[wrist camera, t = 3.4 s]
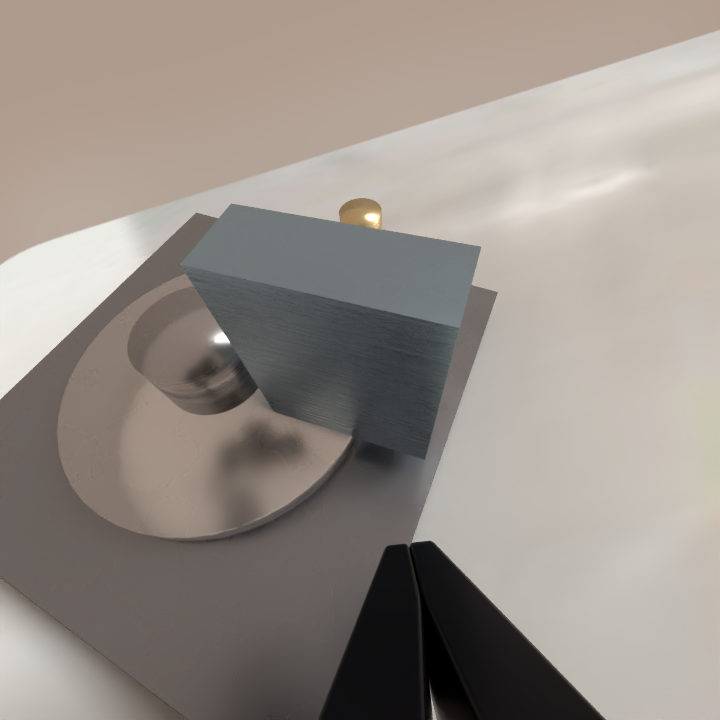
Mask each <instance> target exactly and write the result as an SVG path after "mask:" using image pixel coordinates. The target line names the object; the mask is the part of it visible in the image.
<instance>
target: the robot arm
mask: <svg viewBox="0 0 720 720" xmlns="http://www.w3.org/2000/svg"><path fill="white" fill-rule="evenodd" d="M430 691H431V695H430ZM431 696H432V701H433V705H434V709H435V713H436V718H437V720H606V719H605V718H604V717H603V716H602V715H601V714H600V713H599V712H598V711H597V710H596V709H595V708H594V707H593V706H592V705H591V704H590V703H589V702H588V701H587V700H586V699H585V698H584V697H583V696H582V695H581V694H580V692H579V691H578V690H577V689H576V688H575V687H574V686H573V685H572V684H571V683H570V682H569V681H568V680H567V679H566V678H565V677H564V676H563V675H562V674H561V673H560V672H559V671H558V670H557V669H556V668H555V667H554V666H553V665H552V664H551V663H550V662H549V661H548V660H547V658H546V657H545V656H544V655H543V654H542V653H541V652H540V651H539V650H538V649H537V648H536V647H535V646H534V645H533V644H532V643H531V642H530V641H529V640H528V639H527V638H526V637H525V636H524V635H523V634H522V633H521V632H520V631H519V630H518V629H517V628H516V627H515V626H514V624H513V623H512V622H511V621H510V620H509V619H508V618H507V617H506V616H505V615H504V614H503V613H502V612H501V611H500V610H499V609H498V608H497V607H496V606H495V605H494V604H493V603H492V602H491V601H490V600H489V599H488V598H487V597H486V596H485V595H484V594H483V593H482V592H481V591H480V589H479V588H478V587H477V586H476V585H475V584H474V583H473V582H472V581H471V580H470V579H469V578H468V577H467V576H466V575H465V574H464V573H463V572H462V571H461V570H460V569H459V568H458V567H457V566H456V565H455V564H454V563H453V562H452V561H451V560H450V559H449V558H448V557H447V555H446V554H445V553H444V552H443V551H442V550H441V549H440V548H439V547H438V546H437V545H436V544H435V543H434V542H432V541H424V542H415V543H411V544H410V548H409V546H408V545H407V544H396V545H388V546H386V547H385V549H384V552H383V554H382V557H381V559H380V562H379V564H378V567H377V569H376V572H375V574H374V577H373V580H372V582H371V585H370V587H369V590H368V592H367V595H366V597H365V600H364V602H363V605H362V608H361V610H360V613H359V615H358V618H357V620H356V623H355V625H354V628H353V630H352V633H351V636H350V638H349V641H348V643H347V646H346V648H345V651H344V653H343V656H342V658H341V661H340V664H339V666H338V669H337V671H336V674H335V676H334V679H333V681H332V684H331V686H330V689H329V692H328V694H327V697H326V699H325V702H324V704H323V707H322V709H321V712H320V714H319V717H318V720H433V717H432V706H431Z"/></svg>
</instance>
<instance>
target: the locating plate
mask: <svg viewBox="0 0 720 720" xmlns="http://www.w3.org/2000/svg"><path fill="white" fill-rule="evenodd" d="M339 215H340V223H346V224H352V225H358V226H364V227H369V228H375V229H381V230H382V213H381V207H380V205H379V204H378V203H377V202H375V201H374V200H371V199H365V198H359V199H354V200H351V201H348V202H346V203H345V204H344V205H343V206H342V207H341V208H340V211H339ZM217 220H218V218H214V217H210V216H207V215H203V214H199V213H196V214H195V215H193V216H192V217H191V218H190V219H189V220H188V221H187V222H186V223H185V224H184V225H183V226H182V227H181V228H180V229H179V230H178V231H177V232H176V233H175V234H174V235H173V236H171V237H170V238H169V239H168V240H167V241H166V242H165V243H164V244H163V245H162V246H161V247H160V248H159V249H158V250H157V251H156V252H155V253H154V254H153V255H152V256H150V257H149V258H148V259H147V260H146V261H145V262H144V263H143V264H142V265H141V266H140V267H139V268H138V269H137V270H136V271H135V272H134V273H133V274H132V275H131V276H130V277H128V278H127V279H126V280H125V281H124V282H123V283H122V284H121V285H120V286H119V287H118V288H117V289H116V290H115V291H114V292H113V293H112V294H111V295H110V296H109V297H107V298H106V299H105V300H104V301H103V302H102V303H101V304H100V305H99V306H98V307H97V308H96V309H95V310H94V311H93V312H92V313H91V314H90V315H89V316H88V317H87V318H85V319H84V320H83V321H82V322H81V323H80V324H79V325H78V326H77V327H76V328H75V329H74V330H73V331H72V332H71V333H70V334H69V335H68V336H67V337H66V338H64V339H63V340H62V341H61V342H60V343H59V344H58V345H57V346H56V347H55V348H54V349H53V350H52V351H51V352H50V353H49V354H48V355H47V356H46V357H45V358H44V359H42V360H41V361H40V362H39V363H38V364H37V365H36V366H35V367H34V368H33V369H32V370H31V371H30V372H29V373H28V374H27V375H26V376H25V377H24V378H23V379H22V380H20V381H19V382H18V383H17V384H16V385H15V386H14V387H13V388H12V389H11V390H10V391H9V392H8V393H7V394H6V395H5V396H4V397H3V398H2V399H1V400H0V577H1V578H2V579H4V580H5V581H6V582H8V583H9V584H10V585H11V586H13V587H14V588H15V589H17V590H18V591H19V592H21V593H22V594H23V595H25V596H26V597H27V598H29V599H30V600H31V601H32V602H34V603H35V604H36V605H38V606H39V607H40V608H42V609H43V610H44V611H46V612H47V613H48V614H50V615H51V616H52V617H54V618H55V619H56V620H57V621H59V622H60V623H61V624H63V625H64V626H65V627H67V628H68V629H69V630H71V631H72V632H73V633H75V634H76V635H77V636H79V637H80V638H81V639H82V640H84V641H85V642H86V643H88V644H89V645H90V646H92V647H93V648H94V649H96V650H97V651H98V652H100V653H101V654H102V655H103V656H105V657H106V658H107V659H109V660H110V661H111V662H113V663H114V664H115V665H117V666H118V667H119V668H121V669H122V670H123V671H125V672H126V673H127V674H128V675H130V676H131V677H132V678H134V679H135V680H136V681H138V682H139V683H140V684H142V685H143V686H144V687H146V688H147V689H148V690H149V691H151V692H152V693H153V694H155V695H156V696H157V697H159V698H160V699H161V700H163V701H164V702H165V703H167V704H168V705H169V706H171V707H172V708H173V709H174V710H176V711H177V712H178V713H180V714H181V715H182V716H184V717H185V718H186V719H188V720H318V717H319V714H320V712H321V709H322V707H323V704H324V702H325V699H326V697H327V694H328V692H329V689H330V686H331V684H332V681H333V679H334V676H335V674H336V671H337V669H338V666H339V664H340V661H341V658H342V656H343V653H344V651H345V648H346V646H347V643H348V641H349V638H350V636H351V633H352V630H353V628H354V625H355V623H356V620H357V618H358V615H359V613H360V610H361V608H362V605H363V602H364V600H365V597H366V595H367V592H368V590H369V587H370V585H371V582H372V580H373V577H374V574H375V572H376V569H377V567H378V564H379V562H380V559H381V557H382V554H383V552H384V549H385V547H386V546H388V545H396V544H407V545H408V546H409V547H410V544H411V542H412V539H413V536H414V533H415V530H416V527H417V524H418V521H419V518H420V516H421V513H422V510H423V507H424V504H425V501H426V498H427V495H428V492H429V490H430V487H431V484H432V481H433V478H434V475H435V472H436V469H437V466H438V464H439V461H440V458H441V455H442V452H443V449H444V446H445V443H446V440H447V437H448V435H449V432H450V429H451V426H452V423H453V420H454V417H455V414H456V411H457V409H458V406H459V403H460V400H461V397H462V394H463V391H464V388H465V385H466V383H467V380H468V377H469V374H470V371H471V368H472V365H473V362H474V359H475V357H476V354H477V351H478V348H479V345H480V342H481V339H482V336H483V333H484V330H485V328H486V325H487V322H488V319H489V316H490V313H491V310H492V307H493V304H494V302H495V299H496V296H497V293H498V292H495V291H491V290H487V289H484V288H480V287H476V286H472V285H471V287H470V291H469V295H468V299H467V302H466V306H465V310H464V314H463V318H462V321H461V325H460V329H459V333H458V337H457V340H456V344H455V348H454V352H453V355H452V359H451V363H450V367H449V371H448V374H447V378H446V382H445V386H444V390H443V393H442V397H441V401H440V405H439V409H438V412H437V416H436V420H435V424H434V427H433V431H432V435H431V439H430V443H429V446H428V450H427V454H426V458H425V460H423V459H420V458H417V457H414V456H411V455H408V454H404V453H401V452H398V451H395V450H392V449H389V448H386V447H383V446H379V445H376V444H373V443H370V442H367V441H364V440H361V439H356V441H355V443H354V444H353V446H352V448H351V449H350V451H349V453H348V454H347V456H346V457H345V459H344V460H343V462H342V463H341V464H340V465H339V467H338V468H337V469H336V470H335V472H334V473H333V474H332V475H331V476H330V478H329V479H328V480H327V481H325V482H324V483H323V484H322V485H321V486H320V487H319V488H318V489H317V490H316V491H315V492H314V493H313V494H312V495H311V496H309V497H308V498H307V499H305V500H304V501H303V502H301V503H300V504H299V505H297V506H296V507H295V508H293V509H292V510H290V511H288V512H287V513H285V514H283V515H281V516H280V517H278V518H276V519H275V520H273V521H271V522H269V523H266V524H264V525H261V526H259V527H257V528H254V529H252V530H250V531H247V532H243V533H240V534H236V535H232V536H229V537H225V538H219V539H211V540H204V541H176V540H170V539H164V538H158V537H153V536H149V535H145V534H141V533H137V532H134V531H131V530H128V529H125V528H123V527H120V526H117V525H115V524H113V523H112V522H110V521H108V520H106V519H105V518H103V517H101V516H99V515H98V514H97V513H96V512H94V511H93V510H92V509H91V508H90V507H89V506H88V505H86V504H85V503H84V502H83V501H82V499H81V498H80V497H79V495H78V494H77V493H76V492H75V490H74V489H73V488H72V486H71V484H70V482H69V480H68V478H67V476H66V474H65V472H64V470H63V466H62V462H61V459H60V455H59V449H58V437H57V430H58V416H59V411H60V407H61V402H62V398H63V395H64V392H65V390H66V387H67V384H68V381H69V379H70V377H71V375H72V373H73V371H74V369H75V367H76V365H77V363H78V362H79V360H80V359H81V357H82V356H83V354H84V352H85V351H86V349H87V348H88V346H89V345H90V344H91V343H92V342H93V340H94V339H95V338H96V337H97V335H98V334H99V333H100V332H101V331H102V330H103V329H104V328H105V327H106V326H107V325H108V324H109V322H110V321H111V320H112V319H113V318H115V317H116V316H117V315H118V314H119V313H120V312H122V311H123V310H124V309H125V308H126V307H127V306H129V305H130V304H132V303H133V302H134V301H136V300H137V299H139V298H140V297H141V296H143V295H144V294H146V293H148V292H149V291H151V290H153V289H154V288H156V287H158V286H160V285H162V284H164V283H166V282H168V281H170V280H172V279H174V278H176V277H179V276H181V275H184V274H186V273H185V272H184V270H183V269H182V267H181V265H180V264H181V262H182V261H183V260H184V259H185V258H186V256H187V255H188V254H189V253H190V252H191V251H192V249H193V248H194V247H195V246H196V245H197V243H198V242H199V241H200V240H201V239H202V238H203V236H204V235H205V234H206V233H207V232H208V230H209V229H210V228H211V227H212V226H213V225H214V223H215V222H216V221H217Z"/></svg>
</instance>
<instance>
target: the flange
mask: <svg viewBox="0 0 720 720" xmlns="http://www.w3.org/2000/svg"><path fill="white" fill-rule="evenodd" d="M480 249H481V247H480V246H474V245H468V244H462V243H456V242H451V241H445V240H439V239H433V238H427V237H422V236H416V235H410V234H404V233H398V232H393V231H387V230H381V229H375V228H369V227H364V226H358V225H352V224H346V223H340V222H335V221H329V220H323V219H317V218H311V217H306V216H300V215H294V214H288V213H282V212H277V211H271V210H265V209H259V208H253V207H248V206H242V205H236V204H231V205H230V206H229V207H228V208H227V209H226V210H225V212H224V213H223V214H222V215H221V216H220V218H219V219H218V220H217V221H216V222H215V223H214V225H213V226H212V227H211V228H210V229H209V230H208V232H207V233H206V234H205V235H204V236H203V238H202V239H201V240H200V241H199V242H198V243H197V245H196V246H195V247H194V248H193V249H192V251H191V252H190V253H189V254H188V255H187V256H186V258H185V259H184V260H183V261H182V262H181V264H180V265H181V267H182V269H183V270H184V272H185V273H186V274H184V275H181V276H179V277H176V278H174V279H172V280H170V281H168V282H166V283H164V284H162V285H160V286H158V287H156V288H154V289H153V290H151V291H149V292H148V293H146V294H144V295H143V296H141V297H140V298H139V299H137V300H136V301H134V302H133V303H132V304H130V305H129V306H127V307H126V308H125V309H124V310H123V311H122V312H120V313H119V314H118V315H117V316H116V317H115V318H113V319H112V320H111V321H110V322H109V324H108V325H107V326H106V327H105V328H104V329H103V330H102V331H101V332H100V333H99V334H98V335H97V337H96V338H95V339H94V340H93V342H92V343H91V344H90V345H89V346H88V348H87V349H86V351H85V352H84V354H83V356H82V357H81V359H80V360H79V362H78V363H77V365H76V367H75V369H74V371H73V373H72V375H71V377H70V379H69V381H68V384H67V387H66V390H65V392H64V395H63V398H62V402H61V407H60V411H59V416H58V430H57V437H58V449H59V455H60V459H61V462H62V466H63V470H64V472H65V474H66V476H67V478H68V480H69V482H70V484H71V486H72V488H73V489H74V490H75V492H76V493H77V494H78V495H79V497H80V498H81V499H82V501H83V502H84V503H85V504H86V505H88V506H89V507H90V508H91V509H92V510H93V511H94V512H96V513H97V514H98V515H99V516H101V517H103V518H105V519H106V520H108V521H110V522H112V523H113V524H115V525H117V526H120V527H123V528H125V529H128V530H131V531H134V532H137V533H141V534H145V535H149V536H153V537H158V538H164V539H170V540H176V541H204V540H211V539H219V538H225V537H229V536H232V535H236V534H240V533H243V532H247V531H250V530H252V529H254V528H257V527H259V526H261V525H264V524H266V523H269V522H271V521H273V520H275V519H276V518H278V517H280V516H281V515H283V514H285V513H287V512H288V511H290V510H292V509H293V508H295V507H296V506H297V505H299V504H300V503H301V502H303V501H304V500H305V499H307V498H308V497H309V496H311V495H312V494H313V493H314V492H315V491H316V490H317V489H318V488H319V487H320V486H321V485H322V484H323V483H324V482H325V481H327V480H328V479H329V478H330V476H331V475H332V474H333V473H334V472H335V470H336V469H337V468H338V467H339V465H340V464H341V463H342V462H343V460H344V459H345V457H346V456H347V454H348V453H349V451H350V449H351V448H352V446H353V444H354V443H355V441H356V439H361V440H364V441H367V442H370V443H373V444H376V445H379V446H383V447H386V448H389V449H392V450H395V451H398V452H401V453H404V454H408V455H411V456H414V457H417V458H420V459H423V460H425V458H426V454H427V450H428V446H429V443H430V439H431V435H432V431H433V427H434V424H435V420H436V416H437V412H438V409H439V405H440V401H441V397H442V393H443V390H444V386H445V382H446V378H447V374H448V371H449V367H450V363H451V359H452V355H453V352H454V348H455V344H456V340H457V337H458V333H459V329H460V325H461V321H462V318H463V314H464V310H465V306H466V302H467V299H468V295H469V291H470V287H471V283H472V280H473V276H474V272H475V268H476V265H477V261H478V257H479V253H480Z"/></svg>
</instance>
